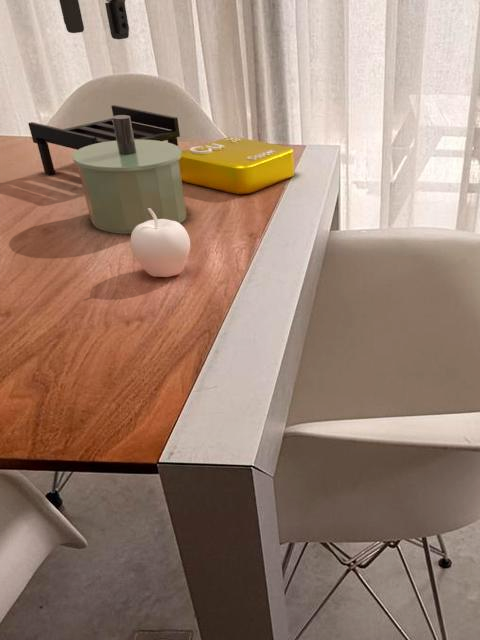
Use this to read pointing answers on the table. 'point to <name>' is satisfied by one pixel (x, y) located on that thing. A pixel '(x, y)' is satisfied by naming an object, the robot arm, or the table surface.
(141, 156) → the lid
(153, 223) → the apple
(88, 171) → the pot
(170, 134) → the rack
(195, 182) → the element tile
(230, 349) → the table surface
